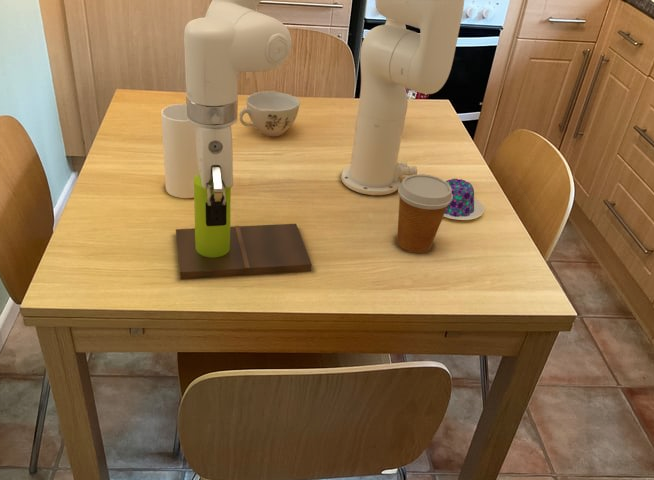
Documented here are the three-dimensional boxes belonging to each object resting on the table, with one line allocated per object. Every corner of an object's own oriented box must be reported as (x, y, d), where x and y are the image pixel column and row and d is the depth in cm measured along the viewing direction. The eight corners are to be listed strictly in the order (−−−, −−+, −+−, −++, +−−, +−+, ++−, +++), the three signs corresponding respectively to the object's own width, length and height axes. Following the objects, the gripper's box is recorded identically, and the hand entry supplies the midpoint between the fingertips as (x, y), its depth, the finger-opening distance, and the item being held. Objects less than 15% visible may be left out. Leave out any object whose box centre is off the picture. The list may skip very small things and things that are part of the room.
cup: (199, 201, 123) (197, 123, 113) (159, 194, 124) (154, 117, 114) (211, 182, 129) (211, 107, 120) (173, 175, 130) (170, 101, 121)
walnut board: (295, 230, 117) (296, 223, 116) (311, 271, 107) (311, 263, 106) (176, 236, 113) (175, 228, 112) (180, 279, 103) (180, 271, 102)
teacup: (282, 118, 158) (284, 87, 153) (307, 138, 150) (310, 105, 145) (227, 127, 152) (228, 94, 147) (250, 148, 143) (251, 114, 138)
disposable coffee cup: (428, 264, 111) (442, 205, 103) (379, 246, 114) (390, 187, 107) (447, 241, 117) (462, 183, 110) (400, 224, 121) (412, 167, 114)
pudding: (423, 218, 123) (429, 194, 120) (423, 189, 133) (428, 167, 130) (485, 227, 122) (492, 203, 119) (481, 197, 132) (487, 175, 129)
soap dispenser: (238, 241, 110) (241, 134, 98) (219, 261, 105) (219, 150, 93) (209, 232, 112) (208, 125, 99) (188, 251, 106) (185, 141, 94)
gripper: (245, 132, 87) (242, 236, 97) (230, 87, 100) (229, 183, 111) (190, 134, 85) (194, 239, 96) (182, 87, 99) (186, 184, 109)
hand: (213, 209), depth 103 cm, fingers open, 9 cm apart
